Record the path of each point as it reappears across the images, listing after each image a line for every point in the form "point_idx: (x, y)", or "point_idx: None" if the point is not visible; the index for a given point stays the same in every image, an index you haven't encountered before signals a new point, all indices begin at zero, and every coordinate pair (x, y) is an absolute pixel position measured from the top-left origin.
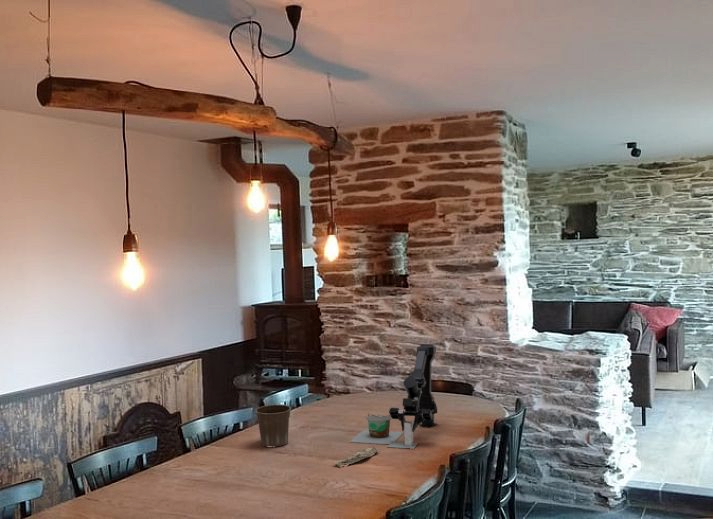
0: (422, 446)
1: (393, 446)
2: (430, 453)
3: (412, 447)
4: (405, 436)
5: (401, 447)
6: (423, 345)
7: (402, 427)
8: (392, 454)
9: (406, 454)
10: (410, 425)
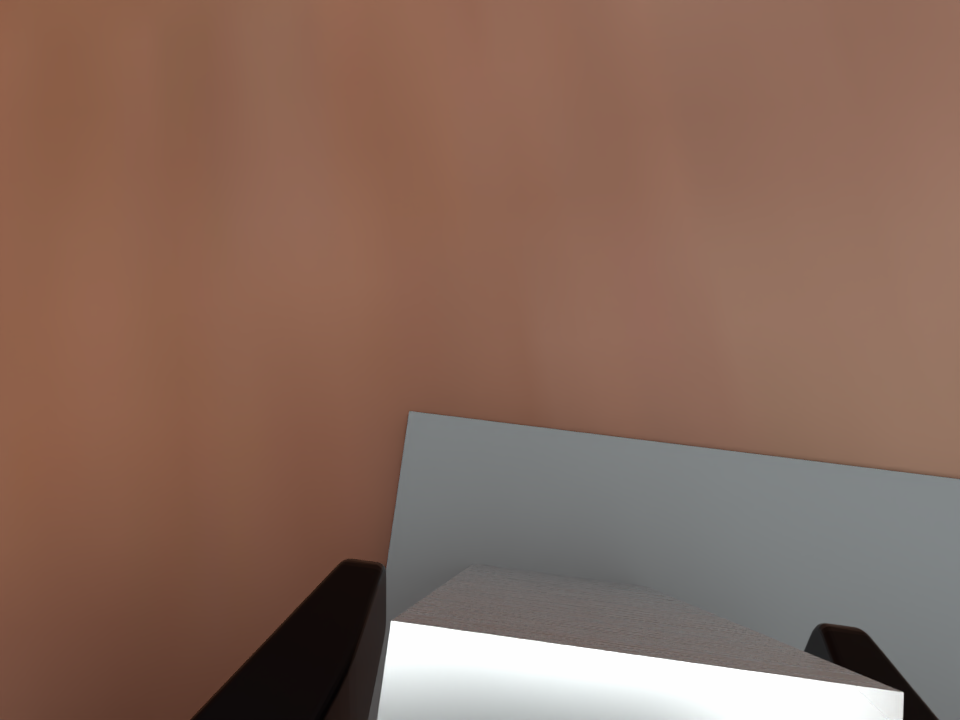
0: (217, 666)
1: (936, 533)
2: (22, 155)
3: (442, 484)
4: (664, 601)
5: (713, 460)
6: None
7: (907, 718)
8: (816, 12)
9: (518, 42)
10: (431, 610)
